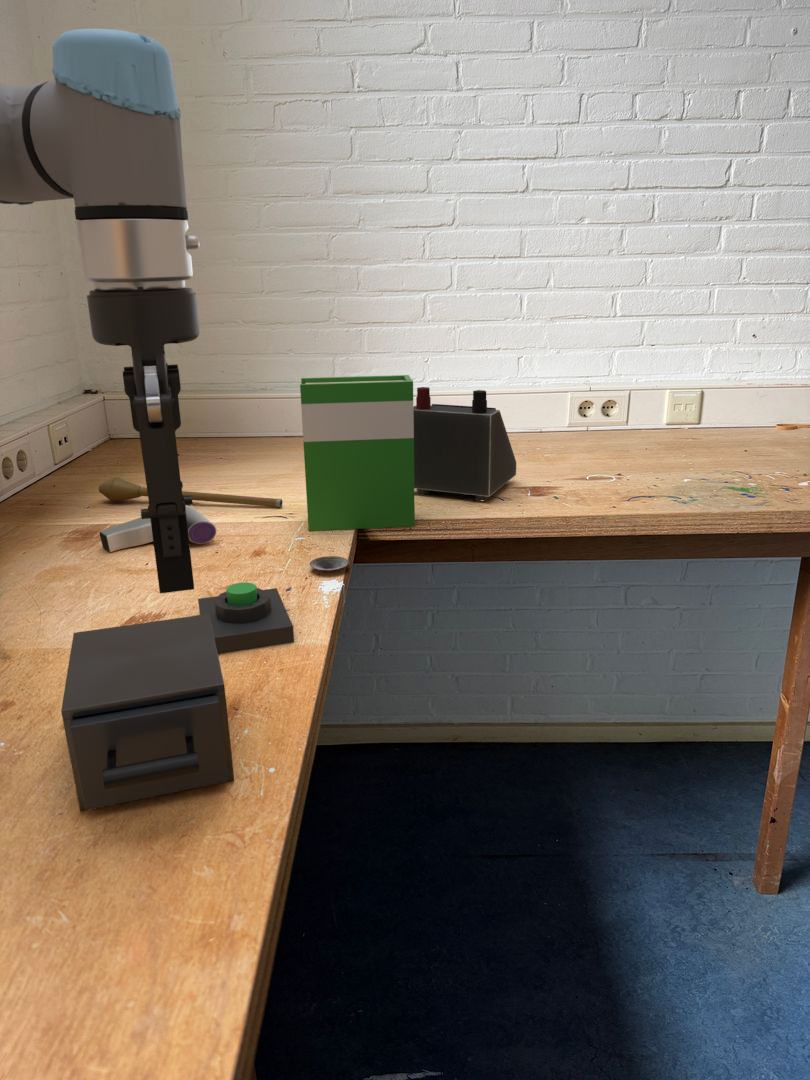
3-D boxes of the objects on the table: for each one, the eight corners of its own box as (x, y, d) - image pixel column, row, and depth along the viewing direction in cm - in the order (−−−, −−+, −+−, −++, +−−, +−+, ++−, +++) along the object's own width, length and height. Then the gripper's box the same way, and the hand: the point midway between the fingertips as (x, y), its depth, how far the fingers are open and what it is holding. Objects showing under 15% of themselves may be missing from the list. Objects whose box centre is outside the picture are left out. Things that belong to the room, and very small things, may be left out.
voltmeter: (516, 481, 158) (519, 379, 151) (489, 504, 144) (491, 393, 138) (441, 473, 165) (441, 376, 158) (408, 494, 151) (406, 388, 144)
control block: (199, 614, 102) (196, 585, 100) (277, 603, 105) (275, 575, 103) (207, 656, 91) (204, 624, 90) (294, 642, 94) (292, 611, 92)
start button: (225, 597, 98) (224, 584, 97) (255, 593, 99) (254, 580, 98) (229, 609, 94) (227, 595, 94) (259, 604, 96) (258, 591, 95)
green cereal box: (308, 530, 132) (300, 384, 124) (309, 517, 139) (301, 378, 131) (414, 526, 133) (413, 381, 125) (410, 512, 140) (408, 374, 132)
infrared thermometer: (101, 551, 127) (187, 524, 136) (131, 572, 118) (222, 542, 127) (95, 524, 125) (183, 499, 134) (125, 543, 116) (217, 515, 125)
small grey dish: (321, 580, 112) (320, 572, 111) (304, 568, 116) (303, 561, 116) (355, 572, 114) (355, 564, 114) (337, 560, 119) (337, 553, 118)
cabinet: (234, 780, 69) (224, 683, 66) (79, 812, 66) (60, 710, 62) (218, 697, 82) (209, 613, 79) (88, 720, 79) (73, 632, 76)
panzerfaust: (277, 492, 141) (285, 488, 146) (93, 478, 146) (106, 473, 151) (277, 518, 143) (285, 513, 147) (94, 503, 148) (108, 498, 152)
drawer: (233, 813, 64) (224, 729, 61) (82, 845, 61) (65, 758, 58) (213, 702, 80) (205, 632, 77) (92, 723, 77) (80, 650, 74)
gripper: (199, 287, 52) (230, 614, 60) (191, 281, 64) (218, 555, 72) (77, 290, 50) (126, 627, 58) (92, 283, 62) (131, 565, 70)
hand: (177, 587), depth 65 cm, fingers closed
